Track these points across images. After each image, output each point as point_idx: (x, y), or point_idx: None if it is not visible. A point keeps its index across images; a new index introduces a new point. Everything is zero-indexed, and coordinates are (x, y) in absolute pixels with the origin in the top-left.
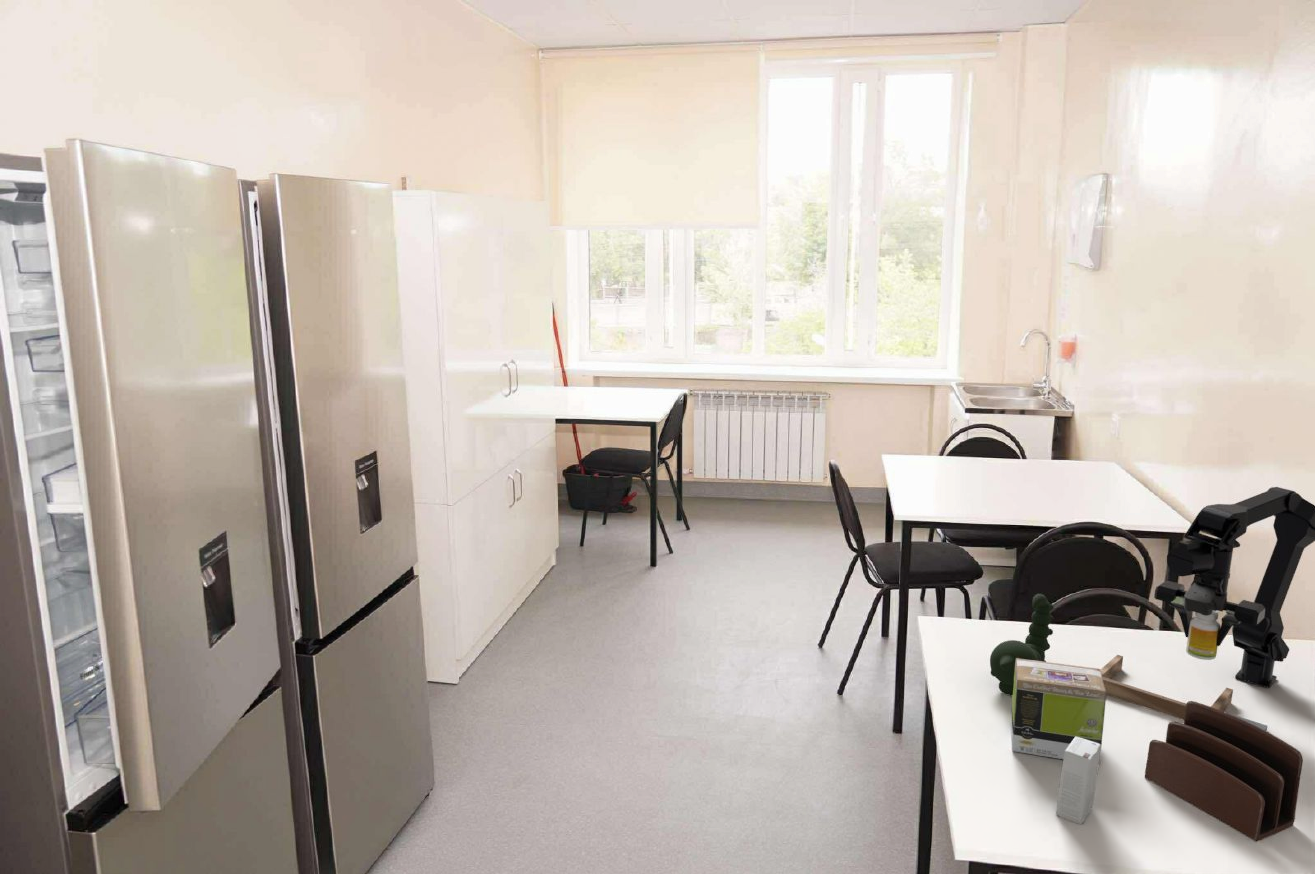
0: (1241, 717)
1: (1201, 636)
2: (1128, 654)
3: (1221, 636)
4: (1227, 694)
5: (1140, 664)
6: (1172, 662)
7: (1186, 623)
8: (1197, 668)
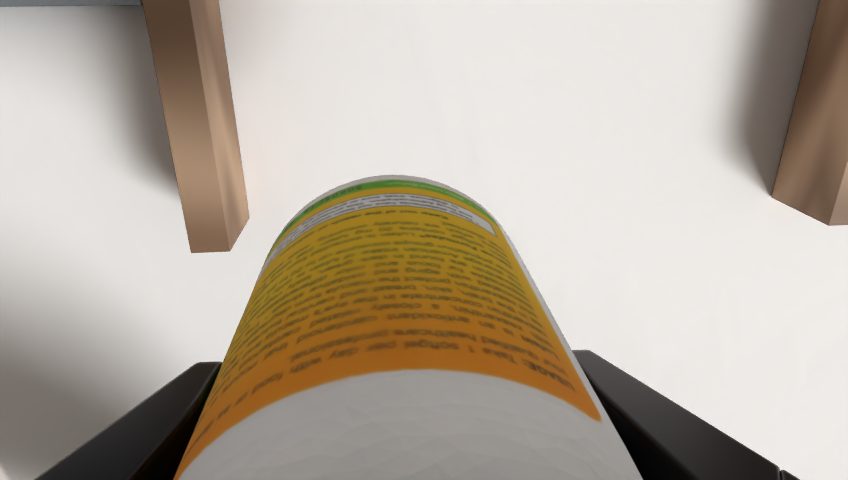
0: (49, 4)
1: (377, 295)
2: (757, 379)
3: (102, 454)
4: (181, 153)
5: (693, 318)
6: None
7: (696, 466)
8: None
